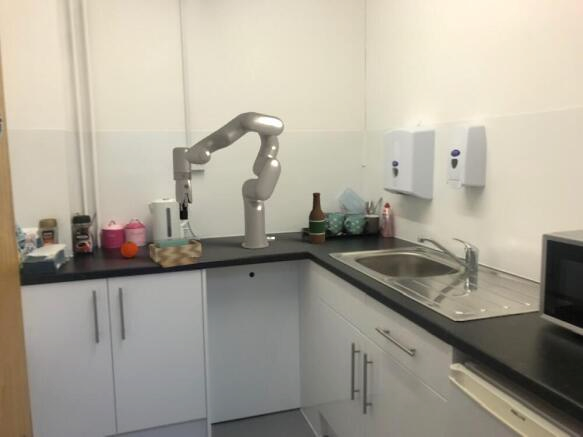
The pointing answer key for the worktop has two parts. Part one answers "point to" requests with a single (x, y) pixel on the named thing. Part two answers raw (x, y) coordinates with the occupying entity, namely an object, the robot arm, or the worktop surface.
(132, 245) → the clementine
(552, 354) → the worktop surface
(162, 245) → the teal block
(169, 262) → the cork trivet
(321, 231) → the beer bottle
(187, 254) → the woven basket
